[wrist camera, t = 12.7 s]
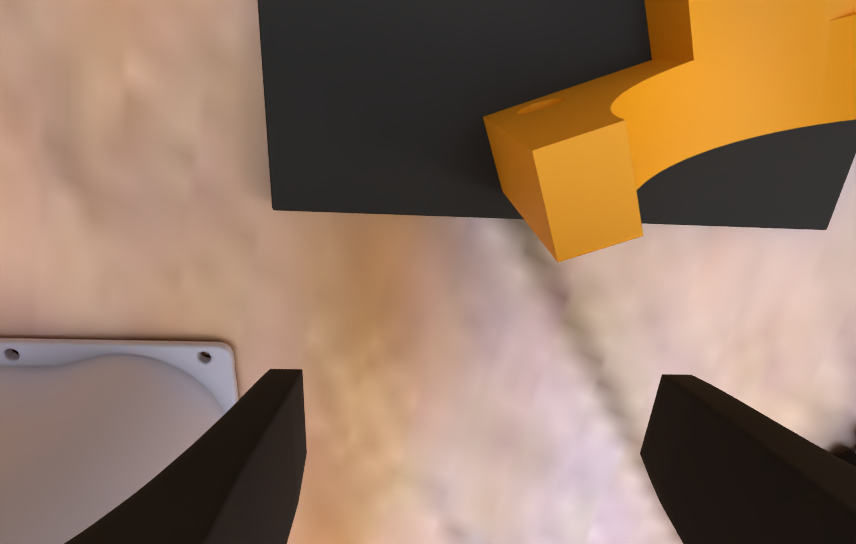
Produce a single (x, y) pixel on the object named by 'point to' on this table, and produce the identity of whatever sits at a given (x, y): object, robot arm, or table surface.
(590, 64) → the mat
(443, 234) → the table surface
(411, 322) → the table surface
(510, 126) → the pipe clamp
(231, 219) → the table surface
